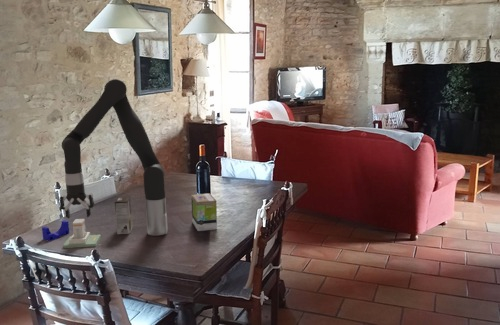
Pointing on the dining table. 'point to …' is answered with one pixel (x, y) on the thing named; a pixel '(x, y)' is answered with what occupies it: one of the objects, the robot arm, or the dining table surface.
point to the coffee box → (123, 215)
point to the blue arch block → (51, 236)
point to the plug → (79, 228)
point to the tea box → (204, 212)
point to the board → (82, 241)
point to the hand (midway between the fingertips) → (78, 217)
